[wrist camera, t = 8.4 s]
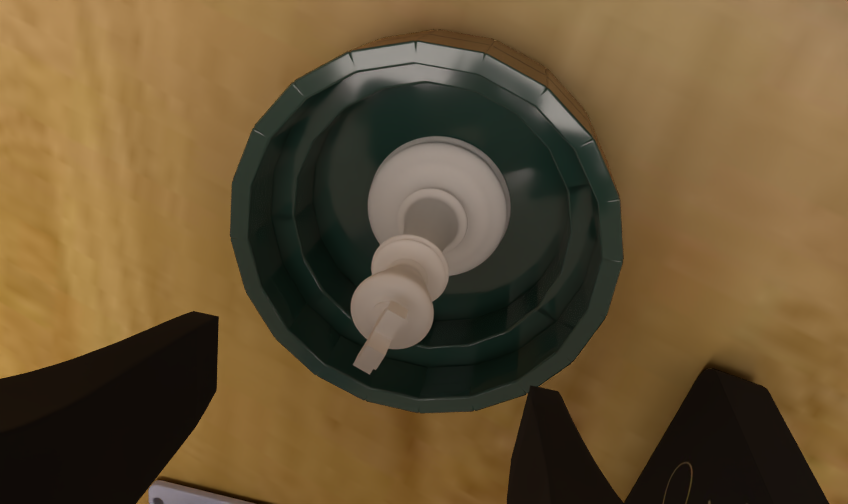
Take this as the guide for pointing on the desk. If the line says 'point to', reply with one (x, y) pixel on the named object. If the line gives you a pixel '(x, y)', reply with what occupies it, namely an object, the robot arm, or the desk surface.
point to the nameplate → (727, 451)
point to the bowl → (356, 244)
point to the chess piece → (424, 237)
